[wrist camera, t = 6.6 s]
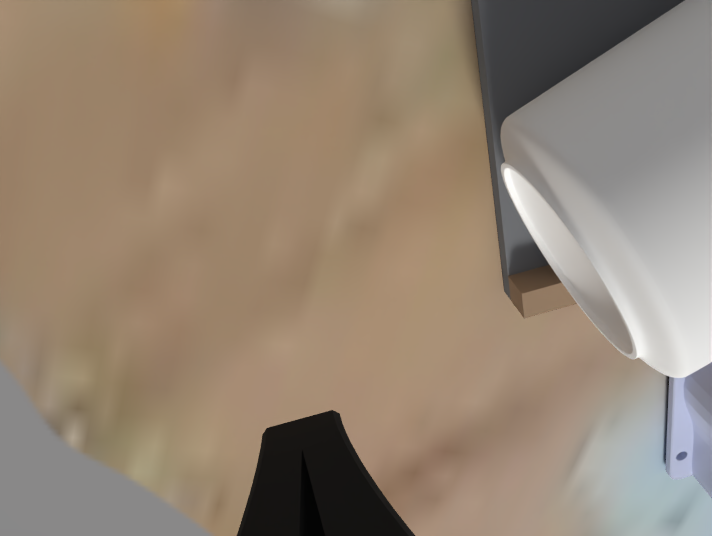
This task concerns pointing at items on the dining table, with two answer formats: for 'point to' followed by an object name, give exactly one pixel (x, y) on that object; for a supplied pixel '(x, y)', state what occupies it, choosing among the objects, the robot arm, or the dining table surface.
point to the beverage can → (628, 188)
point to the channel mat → (525, 83)
